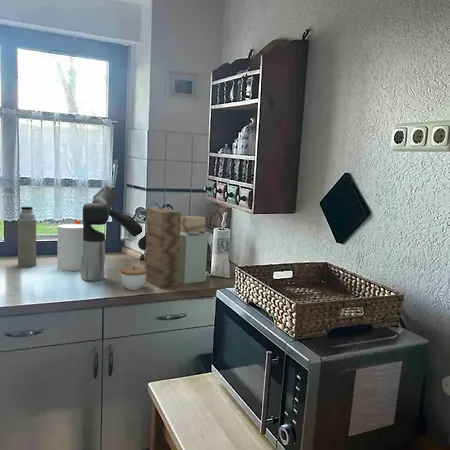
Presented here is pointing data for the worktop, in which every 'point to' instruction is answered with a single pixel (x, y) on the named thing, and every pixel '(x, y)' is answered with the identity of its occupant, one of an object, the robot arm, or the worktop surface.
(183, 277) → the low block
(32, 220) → the thermos bottle
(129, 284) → the lidded jar
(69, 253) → the canister
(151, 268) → the tall box
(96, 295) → the worktop surface
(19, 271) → the worktop surface
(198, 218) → the wooden block
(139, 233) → the robot arm
